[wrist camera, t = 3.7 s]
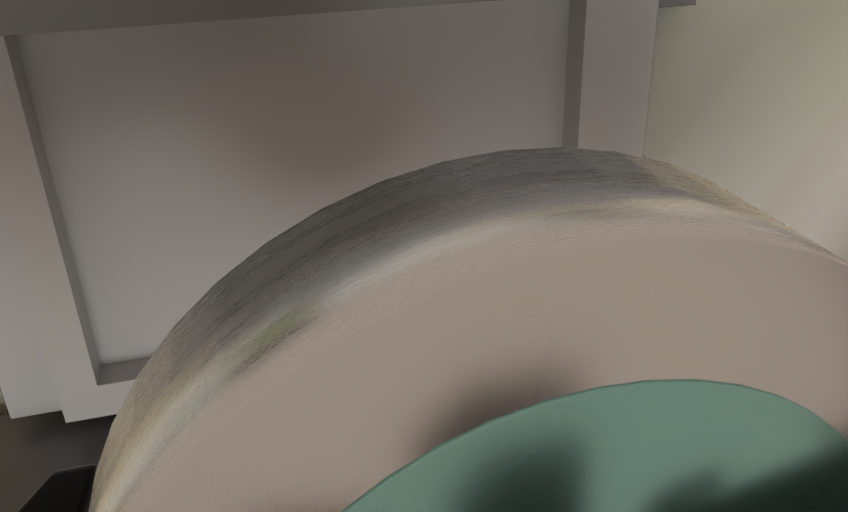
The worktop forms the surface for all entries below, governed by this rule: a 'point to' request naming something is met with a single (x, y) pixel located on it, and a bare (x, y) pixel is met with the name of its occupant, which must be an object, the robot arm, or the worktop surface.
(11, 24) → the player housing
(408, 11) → the tray
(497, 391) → the disc
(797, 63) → the worktop surface
